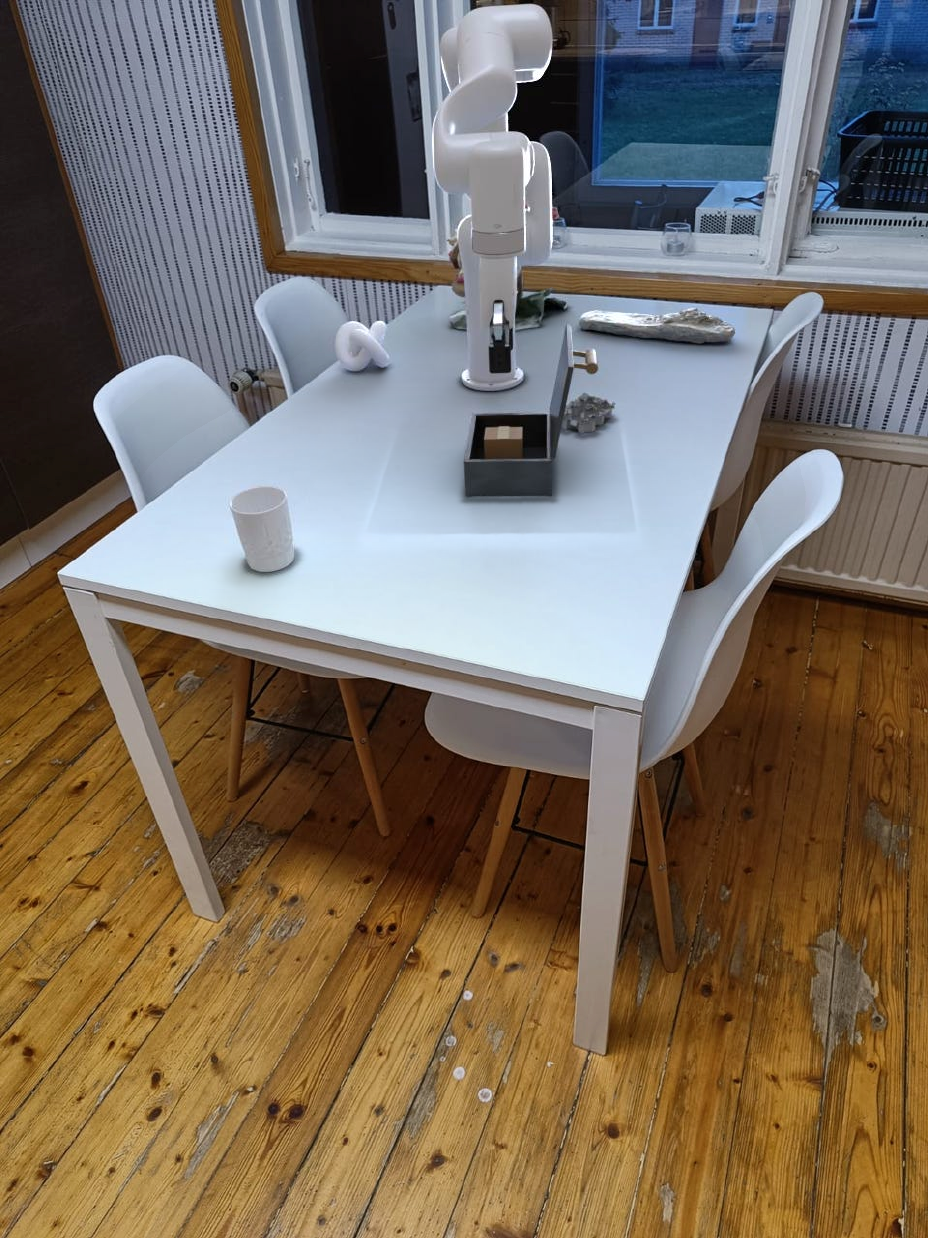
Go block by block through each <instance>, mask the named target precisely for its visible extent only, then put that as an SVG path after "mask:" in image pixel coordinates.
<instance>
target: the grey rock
mask: <svg viewBox="0 0 928 1238" xmlns="http://www.w3.org/2000/svg"><path fill="white" fill-rule="evenodd" d="M615 405H616V402H612V403H610V402H609V401H608V399H606V398H605V399H602V397H597V396H596V395H593V396H591V395H590V394H588V393H586V392H582V393H581V394H580V395H579V397H577V399H574V400H571V401H570V402H569V403H568V404H566V408H565V413H564V418H563V422H562V427H561V430H562V429H563V430H569V429H576V430H578V433H581V434H586V433H593V432H594V431H596V426H602V425H603V424H604V422H605V419H611V418H612V417H613V416H612V413H613V410H615ZM575 419H578V420H575Z"/></svg>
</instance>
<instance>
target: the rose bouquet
mask: <svg viewBox="0 0 928 1238" xmlns="http://www.w3.org/2000/svg"><path fill="white" fill-rule="evenodd" d="M525 210H528V207H527V205H526V204H525ZM466 217H467V216H464V217H463V218H461V220H459V221H458V222H457V226H458V227H459V224H460V223H461V221H462V220H463V219H464V218H466ZM558 218H560V214H559V211H558V208H557V206H552V223H553V222H554V221H555V220H557V219H558ZM454 232H455V234H454V236H453V237H451V238H448V239H447V238H446V242H448V244H449V246H451V247H452V248H451V249H450V251H449V252H448V253H447V254H448V257H449V258H448V260H449V262H451V264H452V265H453V268H454V269H455V270H456V271H459V273H457V274H456V273H455V274H452V277H454V276H456V277H455V278H454V279H453V281H452V284H451V290H452V292H453V293H454V294H455V295H456V296H458V297H461V298H465V286H464V275H463V268H462V262H461V257H460V252H459V246H458V239H457V233H458V228H455V229H454ZM552 245H555V246H556V245H557V246H558V245H560V241H558V240H555V239H552ZM523 281H524V278H523V271H522V266H517V300H516V311H515V331H519V330H523V329H533V328H539V327H541V321H542V318H544V317H546V316H547V315H546V313H545V312H544V310H545V306H546V307H547V306H558V307H563V309H564V310H565V309H567V308H569V307H568V306H567V305H568V304H567V301H565V300H561V299H558V298H556V297H554V296H553V297H549V296H550V295H551V292H552V290H554V287H549V288H547V289H546V290H542V291H539V292H534V293H532V294H528V295H524V293H523V291H524V284H523V283H524V282H523ZM448 318H449V320H450V323H451V325H452V327H453V328H454V329H459V330H467V321H466V309H463V310H459V311H458V312H456V313H454V314H453V315H450V316H448Z"/></svg>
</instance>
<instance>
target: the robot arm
mask: <svg viewBox="0 0 928 1238" xmlns="http://www.w3.org/2000/svg"><path fill="white" fill-rule="evenodd" d="M550 20H551V19H550V17H549V15H548V13H547V12H546V10H545V9H544V8H543V7H542V6H540V5H538V4H535V3H522V4H521V3H520V4H507V5H490V6H482V7H478V8H474V9H472V10H470V11H469V12H467V13H466V14H465V15H464V16H463V17H462V18H461V20H460V22H459V24H458V25H457V26H454V27H451V28H449V29H448V30H447V31H445V32H444V33H443V34H442V36H441V39H440V42H439V43H440V44H439V53H440V62H441V68H442V73H443V76H444V79H445V82H446V85H447V88H448V90H449V93H448V94H447V95H446V97H445V98H444V99H443V101H442V102H441V104H440V105H439V107H438V109H437V111H436V112H435V113H436V114H435V116H434V118H433V124H432V132H431V133H432V134H431V135H432V165H433V166H432V167H433V173H434V178H435V181H436V183H437V186H438V187H439V188H440V190H442V192H444V193H446V194H450V195H465V196H466V198H467V199H468V201H470V203H469V204H470V214H469V215H466V216H465V217H466V218H464V217H463V218H464V219H463V218H462V219H463V220H462V219H461V220H462V221H461V220H460V221H461V223H460V224H459V226H458V227H457V229H458V233H457V239H458V246H459V252H460V257H461V262H462V268H463V275H464V286H465V297H464V299H465V310H466V321H467V329H466V337H467V339H466V340H467V360H468V368H467V369H465V370H464V371H463V372H462V374H461V382H462V384H463V385H464V386H465V387H467V388H470V389H472V390H476V391H484V392H495V391H497V392H498V391H503V390H504V391H505V390H508V389H512V388H514V387H516V386H518V385H519V384H521V383H522V382H523V380H524V372H523V370H522V369H521V368H520V367H519V366H517V365H516V363H517V362H516V330H515V311H516V300H517V293H518V288H517V266H521V267H526V266H529V267H530V266H539V265H542V264H544V263H546V262H547V261H548V260H549V259H550V257H551V254H552V250H553V244H552V240H553V222H552V207H553V195H552V193H553V192H552V187H553V186H552V166H551V160H550V156H549V155H550V154H549V152H548V149H547V148H546V147H545V146H544V145H543V144H542V143H540V142H537V141H530V140H529V137H527V135H525V134H524V133H522V132H519V131H509V123H508V122H509V121H508V120H509V116H508V112H509V111H510V110H511V108H512V107H513V105H514V103H515V101H516V99H517V94H518V84H517V83H527V82H534V81H538V80H539V79H541V78H542V76H543V75H544V73H545V71H546V70H547V68H548V66H549V64H550V61H551V57H552V53H553V52H552V51H553V29H552V24H551V21H550ZM525 204H526V205H527V207H528V210H525Z"/></svg>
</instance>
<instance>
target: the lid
mask: <svg viewBox="0 0 928 1238" xmlns="http://www.w3.org/2000/svg"><path fill="white" fill-rule="evenodd" d="M564 328H565V329H564V332H563V338H562V344H561V349H560V354H559V357H558V358H559V359H558V364H557V369H556V373H555V379H554V383H553V389H552V394H551V395H552V396H551V399H550V404H549V412H550V458H552V459H556V455H557V450H558V447H559V442H560V436H561V433H562V432H561V431H562V422H563V418H564V413H565V408H566V405H567V403H568V397H569V393H570V389H571V383H572V379H573V374H574V369H580V370H585V371H586V373H587V374H588V375H595V374H596V373H597V372H598V371H599V364H598V357H597V352H596V350H595V349H594V348H588V349H586V350H585V351H582V350H578V349H577V350H576V349H573V337H572V336H573V335H572V326H571V324H565V327H564ZM574 357H580V358H584V362H580V361H579V362H578V361H574Z"/></svg>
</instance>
